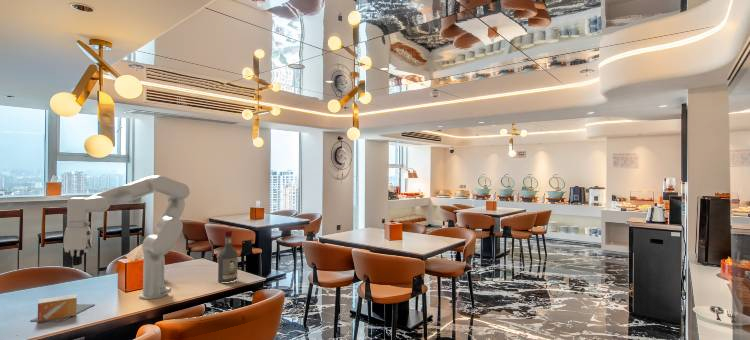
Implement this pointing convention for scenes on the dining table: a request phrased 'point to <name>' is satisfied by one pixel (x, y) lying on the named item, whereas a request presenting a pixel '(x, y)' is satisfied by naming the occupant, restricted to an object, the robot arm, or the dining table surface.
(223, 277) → the liquor
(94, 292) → the dining table surface
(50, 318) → the small box
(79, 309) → the mat
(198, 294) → the dining table surface
